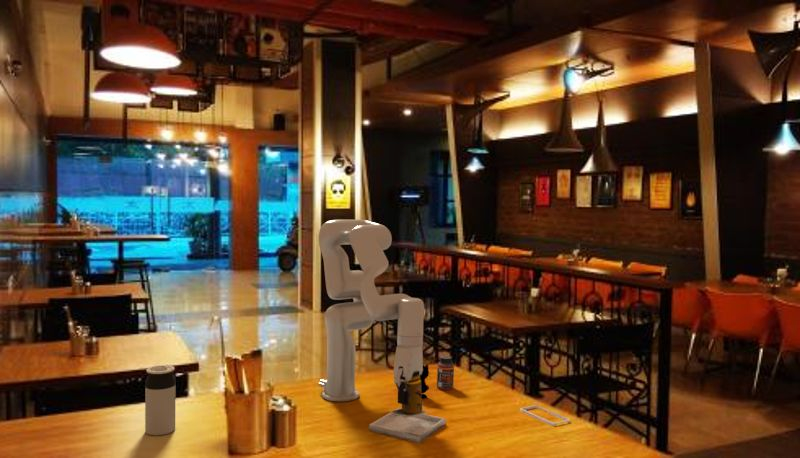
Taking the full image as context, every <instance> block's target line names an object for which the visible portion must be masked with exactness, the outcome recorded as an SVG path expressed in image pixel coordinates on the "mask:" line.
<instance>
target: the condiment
mask: <svg viewBox="0 0 800 458" xmlns="http://www.w3.org/2000/svg"><path fill="white" fill-rule="evenodd" d="M402 379H403V380H405V378H403V377H402ZM402 383H403V385H405V382H402ZM407 391H408V404H407V405H404V404H401V408H400V409H399V410H395V409H393V410H391V411H390V412H392V413H395V414H397V415H399V416H401V417H404V418H406V417H410V416H413V415H418V414H422V413H423V414H427V412H429V411H428V410H426V409H423V399H422V394H423V393H422V391H421V380H420V376H419V371H417V372H415V373H413V375H412V379H411V380H410V381H409V383H408V388H407Z"/></svg>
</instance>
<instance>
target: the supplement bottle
mask: <svg viewBox="0 0 800 458" xmlns="http://www.w3.org/2000/svg"><path fill="white" fill-rule="evenodd" d="M452 358H453V357H452V356H449V355H440V361H438V363H437V368H436V369H437V370H436V371H437V373H436V387H437V389H438V390H442V391H450V390H452V389H453V388H454V377H455V376H454V375H455V365H454V363H453V362H452V360H453V359H452Z"/></svg>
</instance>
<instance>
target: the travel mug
mask: <svg viewBox="0 0 800 458" xmlns="http://www.w3.org/2000/svg"><path fill="white" fill-rule="evenodd" d="M175 369H176V368H175V366H173V365H170V364H169V365H168V364H161V365H154V366H150V367H148V368H146V369H145V370H146V373H147V377H146V379H145V381H144V382H145V383H144V385H145V387H144V388H145V391H144V393H145V396H144V397H145V399H144V400H145V403H144V405H145V406H144V407H145V409H144V410H145V411H144V413H145V414H144V415H145V416H144V419H145V420H144V421H145V425H144V430H145V431H144V433H145V434H148V435H149V436H154V437H155V436H164V435H168V434H170V433H172V432H173V431H175V430H176V382H177V381H176V379H177V378H176V376H175V375H174V372H175Z"/></svg>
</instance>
